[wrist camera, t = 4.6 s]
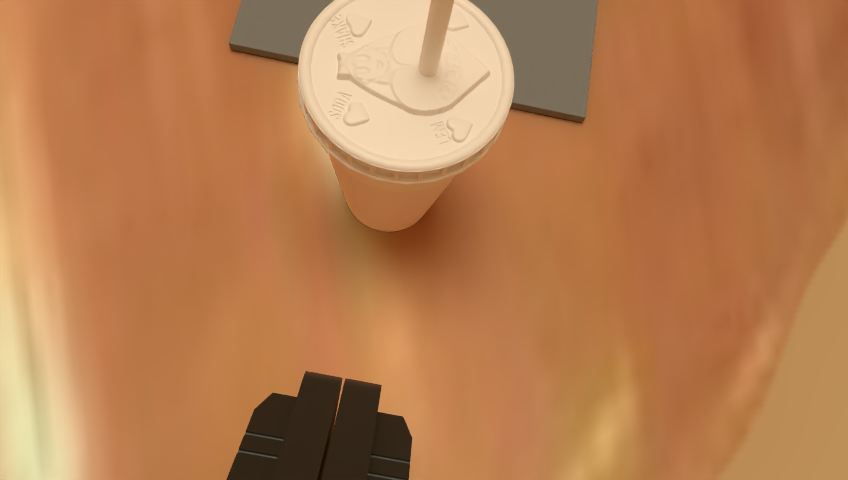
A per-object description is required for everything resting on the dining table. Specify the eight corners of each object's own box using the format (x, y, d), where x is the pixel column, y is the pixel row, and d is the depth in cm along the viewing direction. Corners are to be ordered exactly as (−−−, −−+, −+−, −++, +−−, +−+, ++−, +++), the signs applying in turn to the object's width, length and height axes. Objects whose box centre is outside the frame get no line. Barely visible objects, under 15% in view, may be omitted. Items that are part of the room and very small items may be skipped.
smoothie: (464, 264, 28) (572, 101, 15) (308, 261, 27) (273, 87, 14) (460, 124, 30) (552, -133, 17) (314, 119, 29) (287, -156, 16)
